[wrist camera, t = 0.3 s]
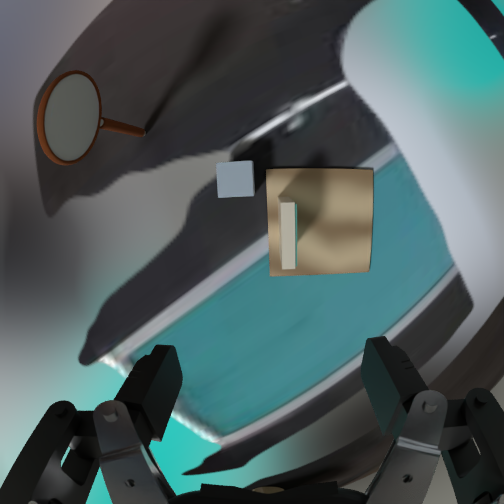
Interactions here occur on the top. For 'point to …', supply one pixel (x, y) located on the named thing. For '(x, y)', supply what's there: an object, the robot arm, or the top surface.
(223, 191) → the block
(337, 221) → the cork mat
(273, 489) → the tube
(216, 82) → the top surface
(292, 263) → the tile
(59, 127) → the magnifying glass
